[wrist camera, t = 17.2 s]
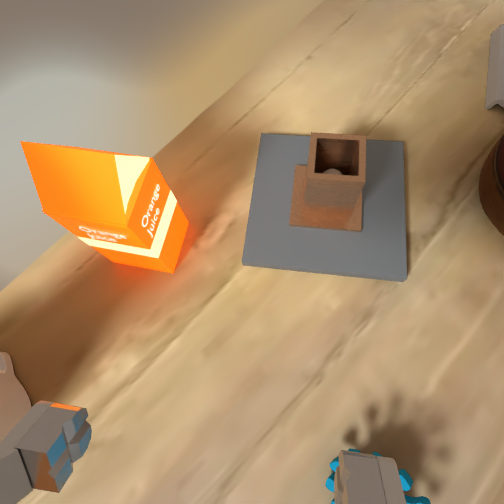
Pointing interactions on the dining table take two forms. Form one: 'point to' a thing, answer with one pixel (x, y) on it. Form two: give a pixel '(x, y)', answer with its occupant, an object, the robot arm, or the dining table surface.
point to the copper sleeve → (330, 184)
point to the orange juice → (110, 203)
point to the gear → (406, 480)
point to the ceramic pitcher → (493, 186)
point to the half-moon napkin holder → (496, 70)
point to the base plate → (322, 240)
